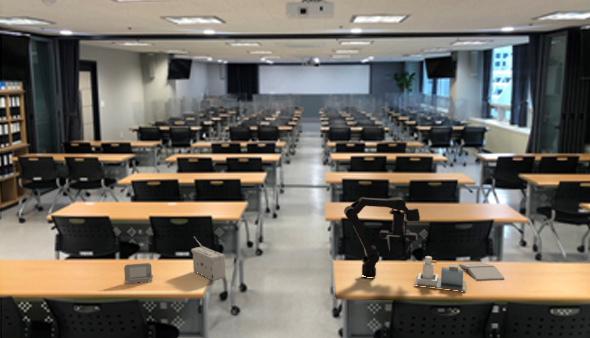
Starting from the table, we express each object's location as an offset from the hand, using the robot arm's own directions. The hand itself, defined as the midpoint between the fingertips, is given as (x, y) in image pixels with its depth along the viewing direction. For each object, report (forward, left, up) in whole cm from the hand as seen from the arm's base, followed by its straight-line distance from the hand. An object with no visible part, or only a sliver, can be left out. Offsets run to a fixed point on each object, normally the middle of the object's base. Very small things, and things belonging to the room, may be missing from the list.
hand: (397, 251), depth 262 cm
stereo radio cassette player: (-94, -31, -13) cm, 100 cm away
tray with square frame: (+22, -6, -13) cm, 26 cm away
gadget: (+41, +19, -14) cm, 47 cm away
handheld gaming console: (-125, -48, -13) cm, 134 cm away
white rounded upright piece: (+16, -6, -12) cm, 21 cm away
